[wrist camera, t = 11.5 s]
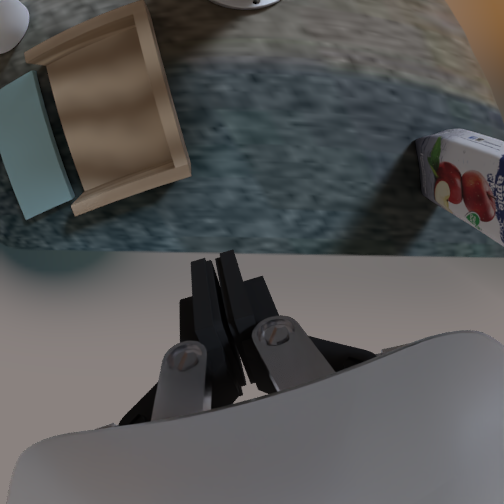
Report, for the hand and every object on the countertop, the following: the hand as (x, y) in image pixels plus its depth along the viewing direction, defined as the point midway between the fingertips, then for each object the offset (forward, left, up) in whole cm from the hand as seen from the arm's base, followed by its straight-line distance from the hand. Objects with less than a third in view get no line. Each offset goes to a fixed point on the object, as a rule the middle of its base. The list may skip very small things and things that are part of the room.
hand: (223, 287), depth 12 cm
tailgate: (-9, -15, -25) cm, 30 cm away
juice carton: (+7, +32, -25) cm, 41 cm away
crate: (-9, -7, -25) cm, 28 cm away
